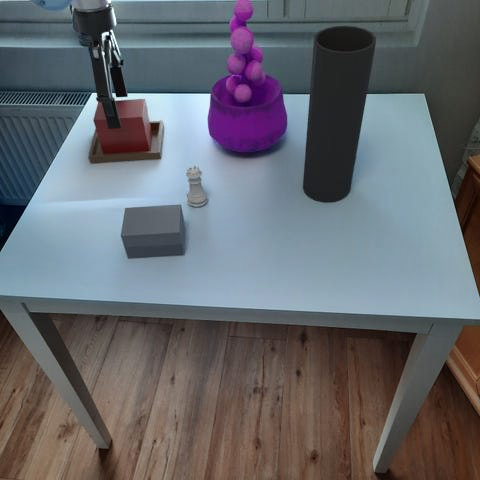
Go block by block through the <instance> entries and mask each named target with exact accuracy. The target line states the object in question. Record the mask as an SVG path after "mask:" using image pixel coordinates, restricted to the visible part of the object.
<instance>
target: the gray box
mask: <svg viewBox="0 0 480 480" xmlns="http://www.w3.org/2000/svg"><path fill="white" fill-rule="evenodd" d="M120 238H121V242H122V244H123V247H124V250H125V253H126V257H127V259H128V260H130V259H144V258H161V257H177V256H185V247H186V246H185V243H186V223H185V219H184V212H183V207H182V204H181V203H179V204H165V205H151V206H150V205H149V206H134V207H124V213H123V218H122V225H121V231H120Z"/></svg>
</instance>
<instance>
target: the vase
mask: <svg viewBox="0 0 480 480" xmlns="http://www.w3.org/2000/svg"><path fill="white" fill-rule="evenodd" d="M376 45H377V37H376V36H375V35H374V33H373V32H371V31H370V30H368V29H366V28H362V27H358V26H352V25H336V26H335V25H334V26H331V27H330V26H329V27H326V28H324V29H322V30H319V31H318V32H317V33H316V34H315V35H314V37H313V46H312V59H311V70H310V71H311V72H310V73H311V74H310V84H309V85H310V86H309V99H308V100H309V101H308V110H307V111H308V112H307V125H306V138H305V139H306V140H305V151H304V153H305V154H304V164H303V165H304V167H303V179H302V189H303V192H304V194H305V195H306V196H307V197H308V198H310V199H313V200H314V201H318V202H321V203H334V202H337V201H342V200H343V199H345V198H346V197H347V196H348V195H349V194H350V192H351V187H352V182H353V175H354V171H355V166H356V160H357V153H358V149H359V148H358V147H359V142H360V137H361V130H362V124H363V119H364V113H365V108H366V107H365V106H366V100H367V96H368V90H369V85H370V84H369V83H370V79H371V73H372V67H373V62H374V56H375V51H376Z"/></svg>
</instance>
